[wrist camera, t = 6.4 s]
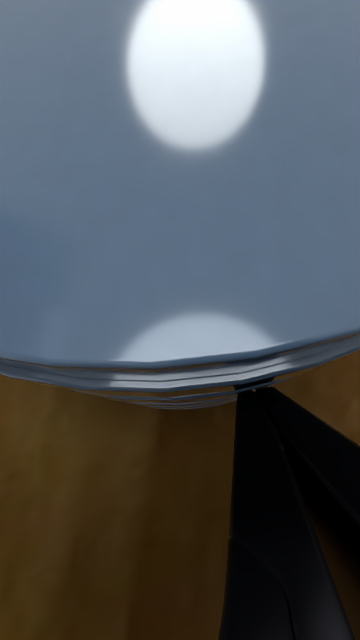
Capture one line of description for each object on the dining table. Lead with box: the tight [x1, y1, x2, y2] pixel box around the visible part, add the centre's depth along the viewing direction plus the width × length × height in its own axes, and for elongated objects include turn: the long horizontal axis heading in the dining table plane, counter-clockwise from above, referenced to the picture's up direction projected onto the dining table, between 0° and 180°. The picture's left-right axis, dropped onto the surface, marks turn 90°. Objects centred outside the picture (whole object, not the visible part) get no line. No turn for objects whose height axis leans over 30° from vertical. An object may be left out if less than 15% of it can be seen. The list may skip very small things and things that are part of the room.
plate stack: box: [0, 0, 360, 410], centre depth 11 cm, size 17×17×12 cm
